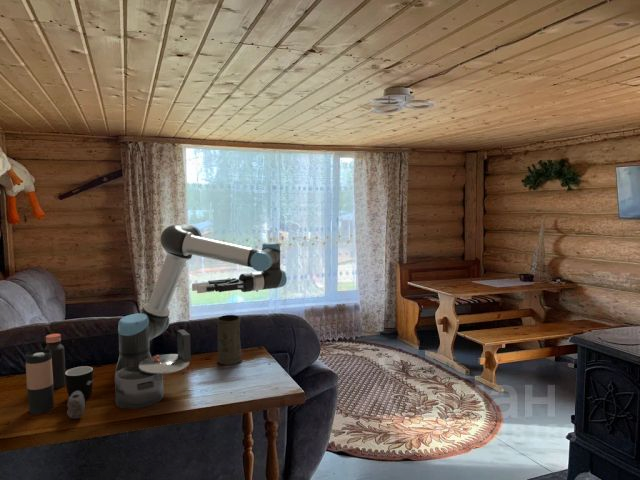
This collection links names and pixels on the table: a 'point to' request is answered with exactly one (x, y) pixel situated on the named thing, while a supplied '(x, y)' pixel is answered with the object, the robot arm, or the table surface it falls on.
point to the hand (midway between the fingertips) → (195, 288)
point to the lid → (169, 358)
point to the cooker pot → (137, 388)
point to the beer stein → (229, 339)
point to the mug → (79, 380)
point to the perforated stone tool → (76, 405)
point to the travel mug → (39, 381)
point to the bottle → (57, 359)
